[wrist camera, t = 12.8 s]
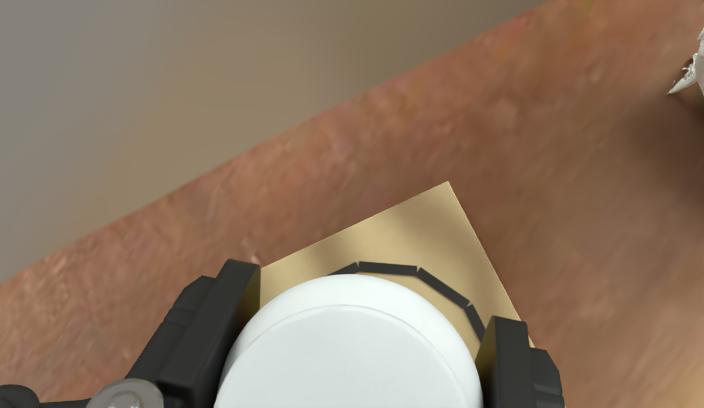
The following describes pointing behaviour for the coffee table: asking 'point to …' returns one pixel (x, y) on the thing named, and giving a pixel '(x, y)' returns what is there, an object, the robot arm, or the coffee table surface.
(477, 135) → the coffee table surface
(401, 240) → the board
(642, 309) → the coffee table surface
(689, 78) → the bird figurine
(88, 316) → the coffee table surface
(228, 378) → the supplement bottle
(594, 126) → the coffee table surface
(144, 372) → the robot arm
